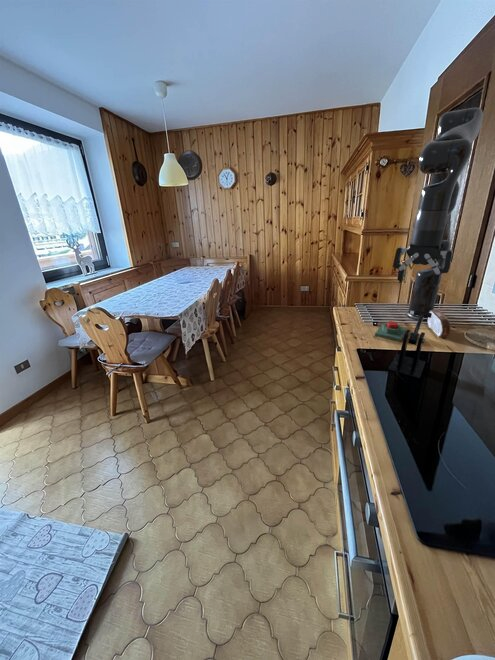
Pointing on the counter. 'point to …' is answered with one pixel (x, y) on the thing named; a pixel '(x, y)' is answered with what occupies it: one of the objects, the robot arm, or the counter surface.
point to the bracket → (409, 358)
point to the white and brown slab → (439, 323)
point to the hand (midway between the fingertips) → (416, 283)
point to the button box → (391, 332)
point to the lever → (418, 326)
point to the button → (392, 325)
